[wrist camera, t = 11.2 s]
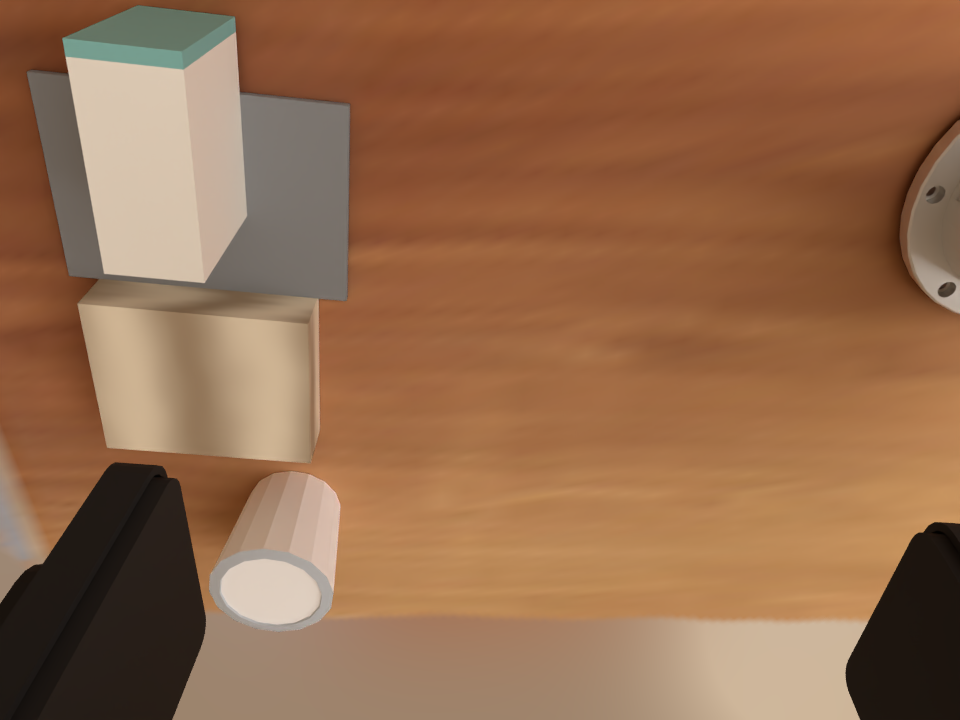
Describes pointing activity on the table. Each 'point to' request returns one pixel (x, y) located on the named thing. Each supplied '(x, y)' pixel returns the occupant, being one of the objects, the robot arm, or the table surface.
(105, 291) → the birch step
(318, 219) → the grey mat
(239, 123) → the cream block
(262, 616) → the pale pink cylinder
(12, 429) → the table surface
